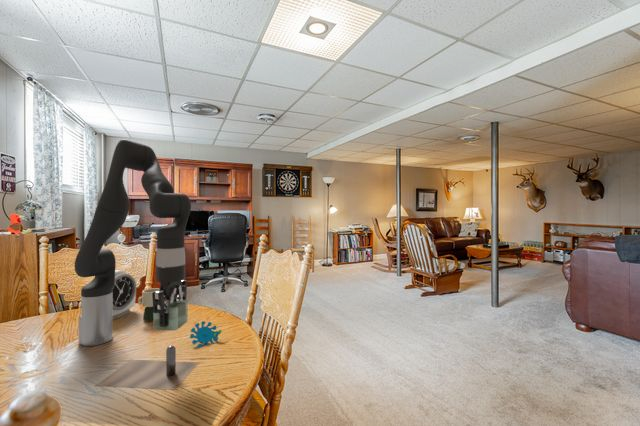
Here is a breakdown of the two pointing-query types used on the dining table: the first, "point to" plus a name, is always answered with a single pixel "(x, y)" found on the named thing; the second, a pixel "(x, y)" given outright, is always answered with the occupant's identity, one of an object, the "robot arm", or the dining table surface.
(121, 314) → the alarm clock
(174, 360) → the metal post
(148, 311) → the character mug
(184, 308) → the pale green open box
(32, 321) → the dining table surface
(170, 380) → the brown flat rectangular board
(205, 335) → the gear
